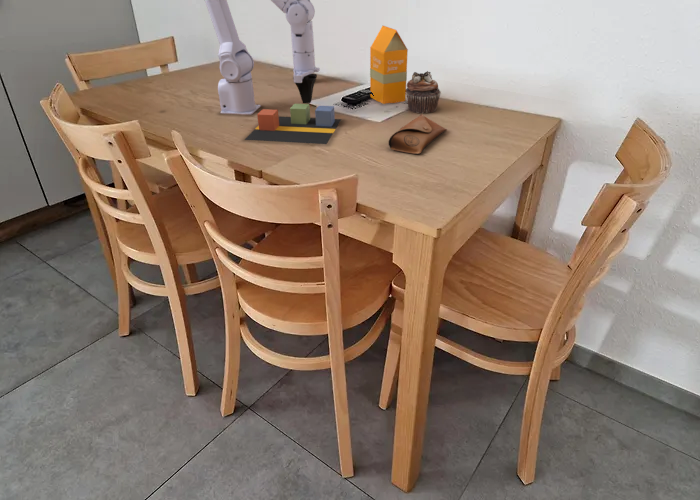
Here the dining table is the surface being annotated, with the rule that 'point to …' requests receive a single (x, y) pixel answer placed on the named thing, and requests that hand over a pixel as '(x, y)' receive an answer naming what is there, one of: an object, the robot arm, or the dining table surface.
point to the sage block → (300, 113)
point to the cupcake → (422, 93)
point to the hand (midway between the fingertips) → (307, 102)
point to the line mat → (296, 132)
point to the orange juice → (388, 67)
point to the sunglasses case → (415, 135)
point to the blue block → (325, 116)
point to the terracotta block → (268, 119)
